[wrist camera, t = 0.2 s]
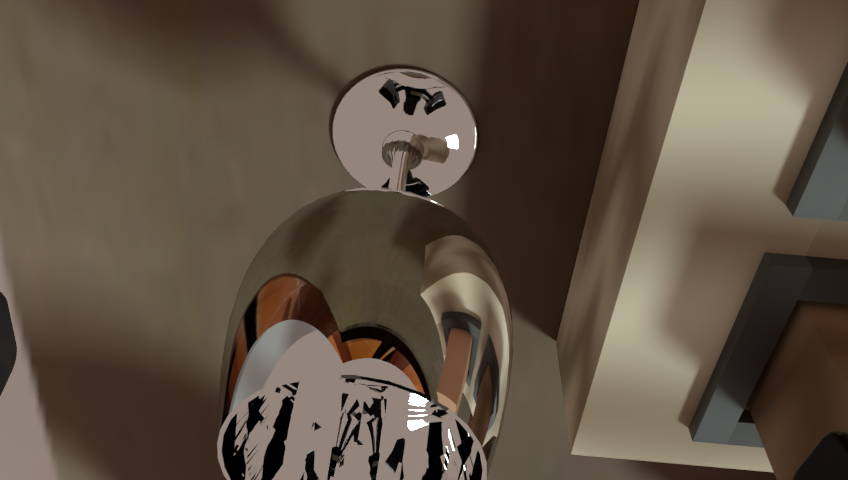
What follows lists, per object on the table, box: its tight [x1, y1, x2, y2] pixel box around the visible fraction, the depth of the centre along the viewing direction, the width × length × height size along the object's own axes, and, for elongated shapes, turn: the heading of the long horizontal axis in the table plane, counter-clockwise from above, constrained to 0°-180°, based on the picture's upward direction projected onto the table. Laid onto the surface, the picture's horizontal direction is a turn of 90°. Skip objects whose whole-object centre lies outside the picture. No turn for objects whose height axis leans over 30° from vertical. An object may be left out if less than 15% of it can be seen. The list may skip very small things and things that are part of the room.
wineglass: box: [217, 68, 513, 480], centre depth 17 cm, size 6×6×12 cm
